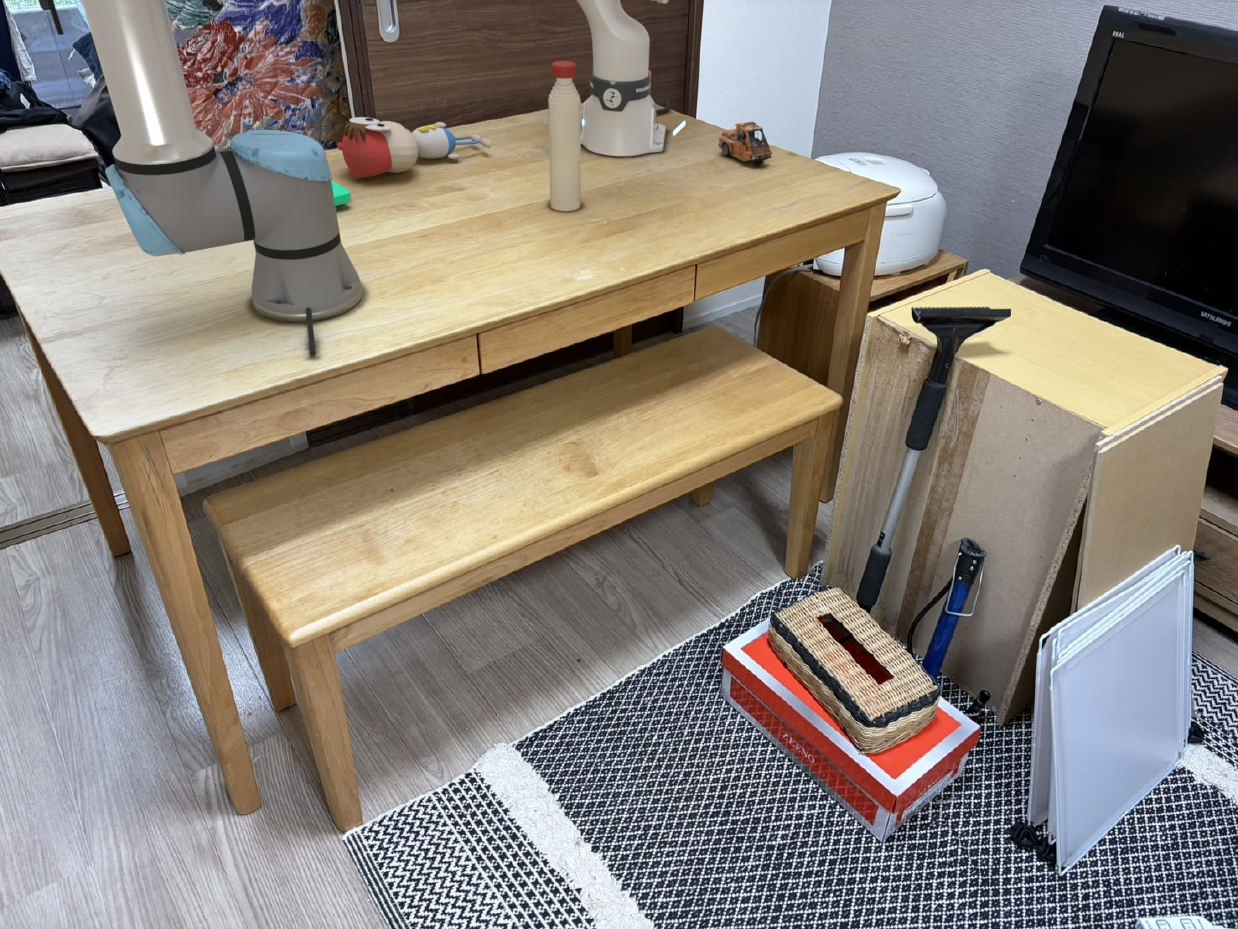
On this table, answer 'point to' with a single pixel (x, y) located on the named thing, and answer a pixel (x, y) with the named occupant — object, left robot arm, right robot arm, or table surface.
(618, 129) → the right robot arm
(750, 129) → the toy car
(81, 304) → the table surface
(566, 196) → the bottle
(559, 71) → the cap
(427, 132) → the toy
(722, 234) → the table surface
